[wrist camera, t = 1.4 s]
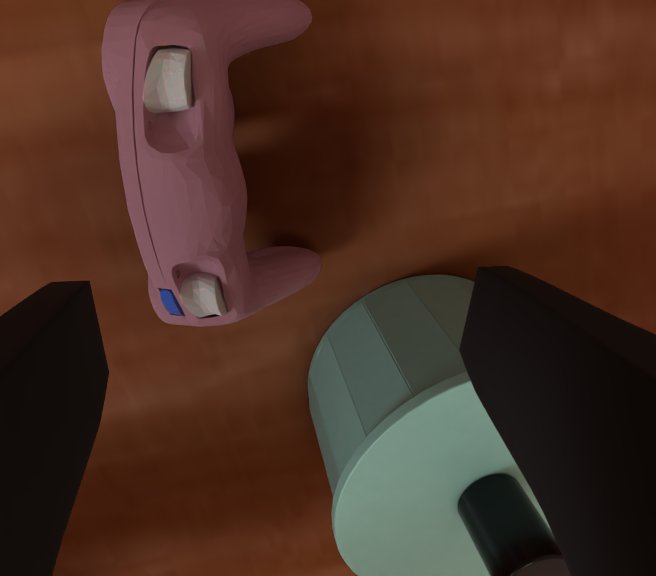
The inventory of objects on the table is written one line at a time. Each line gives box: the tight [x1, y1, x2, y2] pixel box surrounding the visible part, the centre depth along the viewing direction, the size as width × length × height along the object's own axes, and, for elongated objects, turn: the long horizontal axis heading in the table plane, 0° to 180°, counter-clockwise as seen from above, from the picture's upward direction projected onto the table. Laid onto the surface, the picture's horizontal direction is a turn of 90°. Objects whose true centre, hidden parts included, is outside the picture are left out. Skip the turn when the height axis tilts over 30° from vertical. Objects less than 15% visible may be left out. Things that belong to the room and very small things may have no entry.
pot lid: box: [331, 371, 571, 576], centre depth 17 cm, size 11×11×4 cm
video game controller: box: [101, 0, 322, 327], centre depth 16 cm, size 10×5×7 cm, turn 2°
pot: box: [308, 275, 475, 497], centre depth 22 cm, size 10×10×7 cm
